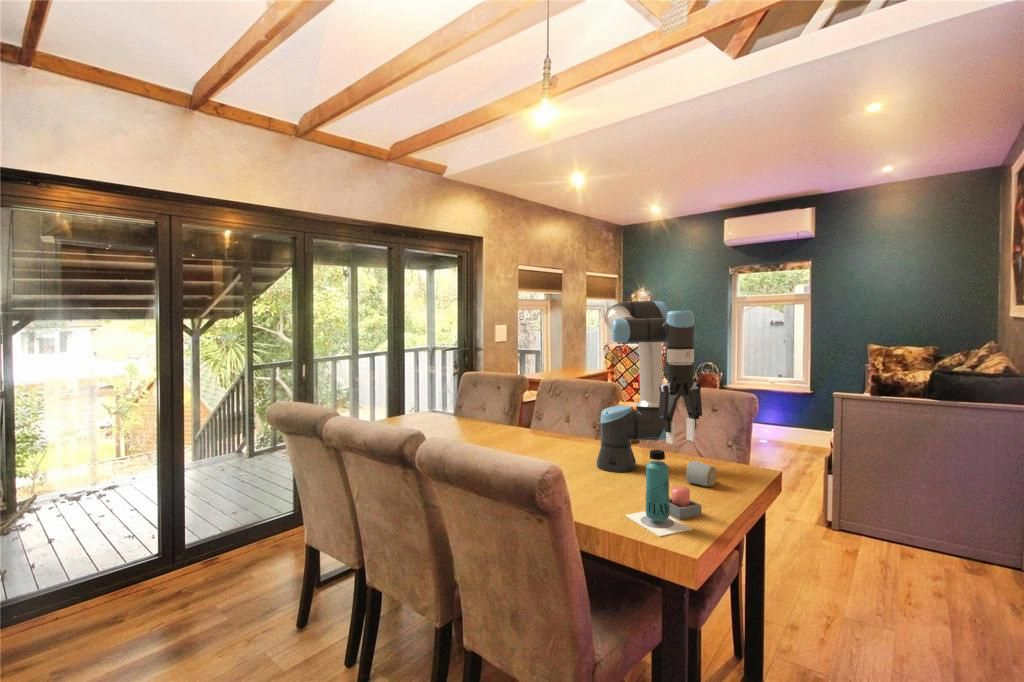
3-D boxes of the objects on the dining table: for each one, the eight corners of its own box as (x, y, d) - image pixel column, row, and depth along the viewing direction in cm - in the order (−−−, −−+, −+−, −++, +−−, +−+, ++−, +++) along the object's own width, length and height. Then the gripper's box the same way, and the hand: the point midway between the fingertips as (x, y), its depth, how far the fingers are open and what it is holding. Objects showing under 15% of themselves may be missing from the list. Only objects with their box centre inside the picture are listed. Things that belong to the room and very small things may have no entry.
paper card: (624, 516, 138) (624, 514, 138) (655, 510, 142) (655, 508, 142) (659, 537, 124) (659, 535, 124) (692, 529, 128) (692, 528, 128)
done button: (668, 504, 141) (668, 487, 141) (681, 501, 143) (681, 485, 143) (680, 510, 137) (680, 492, 137) (693, 507, 139) (693, 490, 138)
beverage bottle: (644, 524, 131) (643, 452, 131) (646, 515, 137) (646, 446, 137) (669, 527, 129) (668, 454, 128) (670, 518, 135) (669, 448, 134)
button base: (660, 509, 142) (660, 499, 142) (681, 505, 145) (681, 495, 145) (679, 519, 135) (679, 509, 135) (701, 515, 138) (701, 504, 138)
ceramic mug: (709, 490, 158) (709, 467, 158) (685, 484, 164) (685, 462, 164) (720, 482, 166) (721, 460, 166) (697, 477, 172) (697, 456, 172)
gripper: (661, 366, 131) (661, 448, 132) (716, 363, 139) (716, 441, 140) (644, 364, 138) (644, 442, 139) (697, 361, 146) (697, 435, 147)
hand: (680, 441), depth 139 cm, fingers open, 7 cm apart
